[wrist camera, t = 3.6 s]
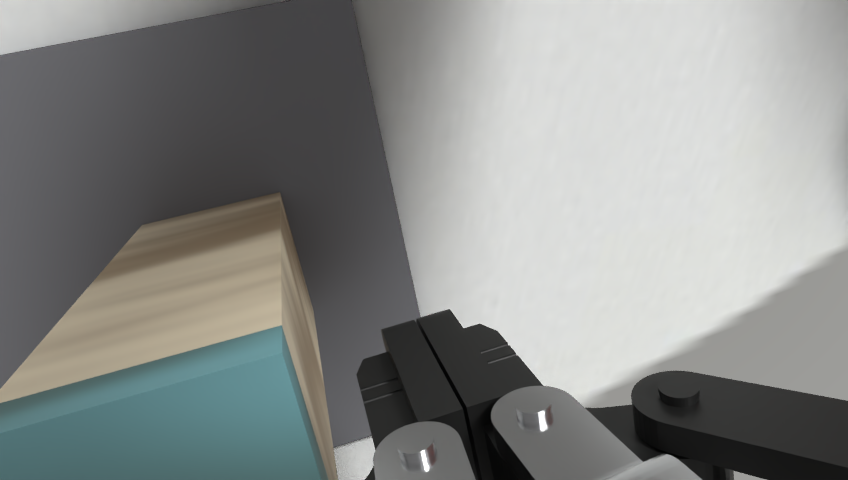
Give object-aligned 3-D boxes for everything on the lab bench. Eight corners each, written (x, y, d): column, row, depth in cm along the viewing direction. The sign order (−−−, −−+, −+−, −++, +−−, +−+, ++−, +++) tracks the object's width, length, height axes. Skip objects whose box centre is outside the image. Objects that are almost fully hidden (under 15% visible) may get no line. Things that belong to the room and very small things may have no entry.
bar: (141, 225, 19) (-51, 447, 8) (279, 192, 20) (282, 352, 9) (186, 346, 21) (76, 679, 9) (313, 311, 21) (352, 581, 10)
